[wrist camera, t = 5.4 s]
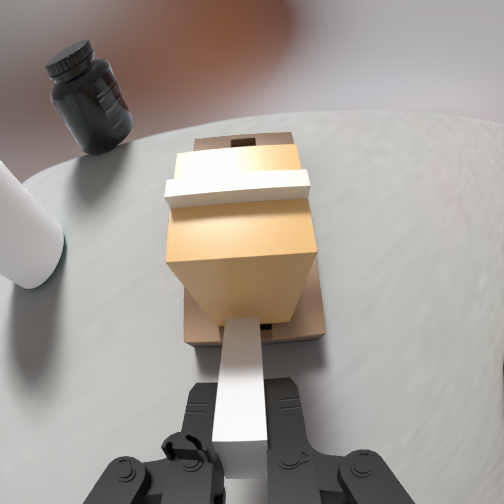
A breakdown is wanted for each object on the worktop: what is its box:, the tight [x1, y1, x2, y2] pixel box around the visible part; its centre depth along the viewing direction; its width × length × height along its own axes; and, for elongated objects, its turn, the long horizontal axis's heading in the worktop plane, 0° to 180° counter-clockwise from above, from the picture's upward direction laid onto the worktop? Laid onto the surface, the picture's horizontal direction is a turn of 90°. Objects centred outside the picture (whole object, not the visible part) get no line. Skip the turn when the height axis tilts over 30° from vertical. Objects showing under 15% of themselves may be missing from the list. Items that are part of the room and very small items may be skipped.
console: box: [184, 132, 326, 347], centre depth 20 cm, size 16×8×3 cm, turn 3°
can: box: [0, 160, 64, 289], centre depth 16 cm, size 7×7×12 cm
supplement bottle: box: [45, 39, 133, 154], centre depth 22 cm, size 7×7×12 cm
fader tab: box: [165, 144, 317, 326], centre depth 13 cm, size 4×4×11 cm
